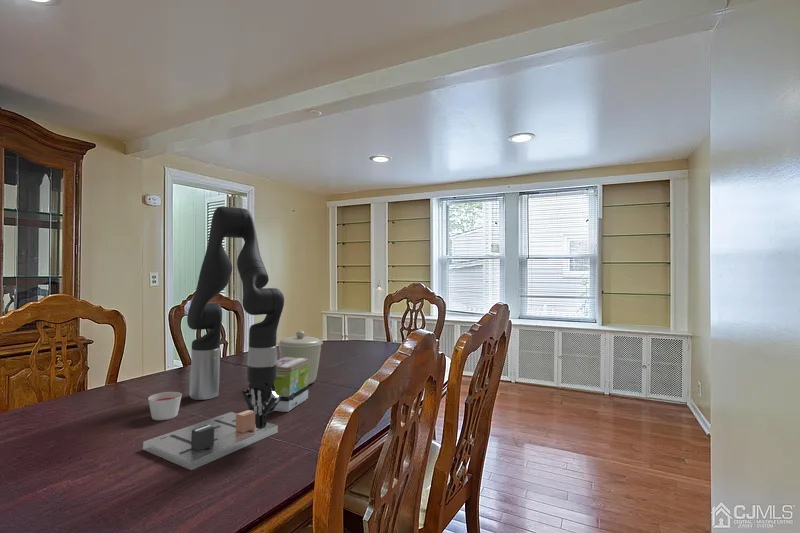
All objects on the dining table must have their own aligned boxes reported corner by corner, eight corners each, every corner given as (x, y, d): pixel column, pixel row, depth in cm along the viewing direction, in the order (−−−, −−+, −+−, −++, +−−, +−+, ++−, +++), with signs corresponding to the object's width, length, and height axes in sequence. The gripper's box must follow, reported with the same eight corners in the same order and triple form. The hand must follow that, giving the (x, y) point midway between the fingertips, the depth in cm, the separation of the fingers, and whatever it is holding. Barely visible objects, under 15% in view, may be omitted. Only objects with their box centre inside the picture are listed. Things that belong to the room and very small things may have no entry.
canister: (298, 391, 155) (300, 335, 155) (266, 383, 164) (267, 331, 165) (331, 381, 170) (332, 330, 170) (299, 374, 180) (300, 326, 180)
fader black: (191, 448, 100) (191, 429, 100) (206, 442, 104) (206, 424, 104) (198, 451, 99) (199, 431, 99) (213, 445, 102) (214, 426, 102)
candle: (187, 414, 129) (188, 394, 129) (160, 424, 121) (161, 402, 121) (168, 410, 133) (169, 390, 133) (141, 418, 124) (141, 397, 125)
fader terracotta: (235, 430, 112) (236, 413, 112) (247, 425, 115) (248, 409, 115) (243, 433, 110) (243, 415, 110) (255, 428, 114) (255, 411, 114)
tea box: (289, 412, 132) (290, 367, 132) (261, 410, 134) (262, 364, 134) (309, 398, 147) (310, 357, 147) (283, 396, 149) (284, 355, 149)
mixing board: (142, 449, 104) (143, 441, 104) (231, 418, 126) (231, 411, 126) (191, 470, 94) (191, 461, 94) (277, 432, 116) (277, 425, 116)
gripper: (233, 362, 110) (232, 427, 110) (268, 368, 103) (267, 438, 103) (256, 357, 116) (255, 418, 116) (290, 363, 110) (289, 428, 110)
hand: (260, 427), depth 110 cm, fingers closed
